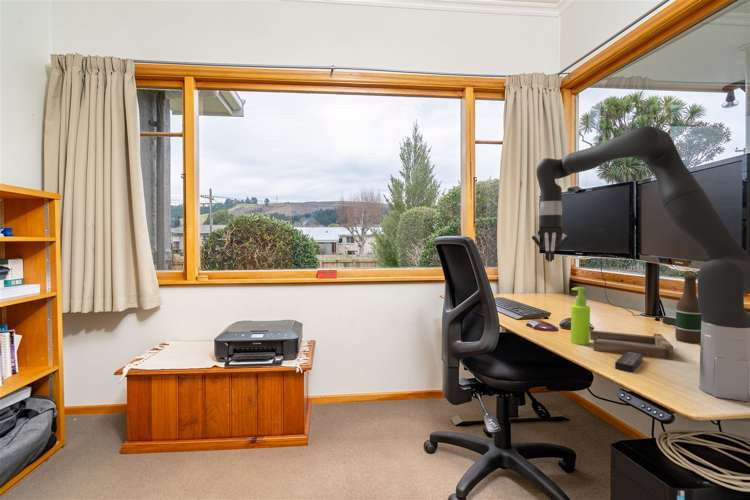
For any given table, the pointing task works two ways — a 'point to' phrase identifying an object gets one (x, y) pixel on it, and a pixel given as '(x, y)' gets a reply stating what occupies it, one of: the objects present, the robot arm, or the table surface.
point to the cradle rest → (632, 344)
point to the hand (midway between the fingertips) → (549, 261)
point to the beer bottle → (688, 314)
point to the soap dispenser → (580, 319)
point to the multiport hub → (629, 361)
